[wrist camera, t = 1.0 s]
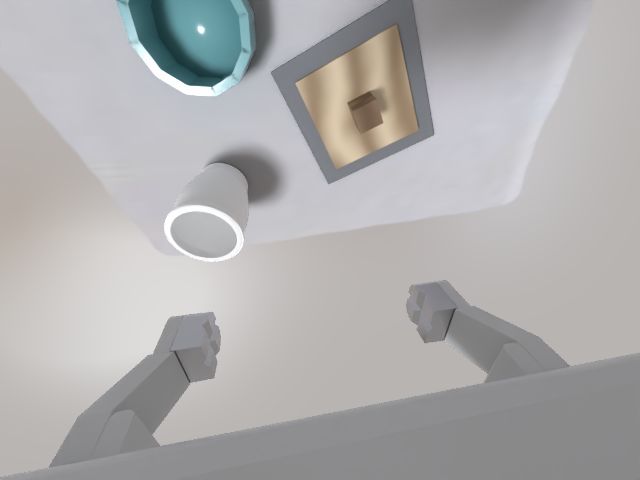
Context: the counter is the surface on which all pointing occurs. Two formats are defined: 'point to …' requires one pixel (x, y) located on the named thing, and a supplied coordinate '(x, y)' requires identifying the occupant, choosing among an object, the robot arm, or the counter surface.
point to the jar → (210, 214)
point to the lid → (361, 98)
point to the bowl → (192, 41)
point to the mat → (340, 43)
